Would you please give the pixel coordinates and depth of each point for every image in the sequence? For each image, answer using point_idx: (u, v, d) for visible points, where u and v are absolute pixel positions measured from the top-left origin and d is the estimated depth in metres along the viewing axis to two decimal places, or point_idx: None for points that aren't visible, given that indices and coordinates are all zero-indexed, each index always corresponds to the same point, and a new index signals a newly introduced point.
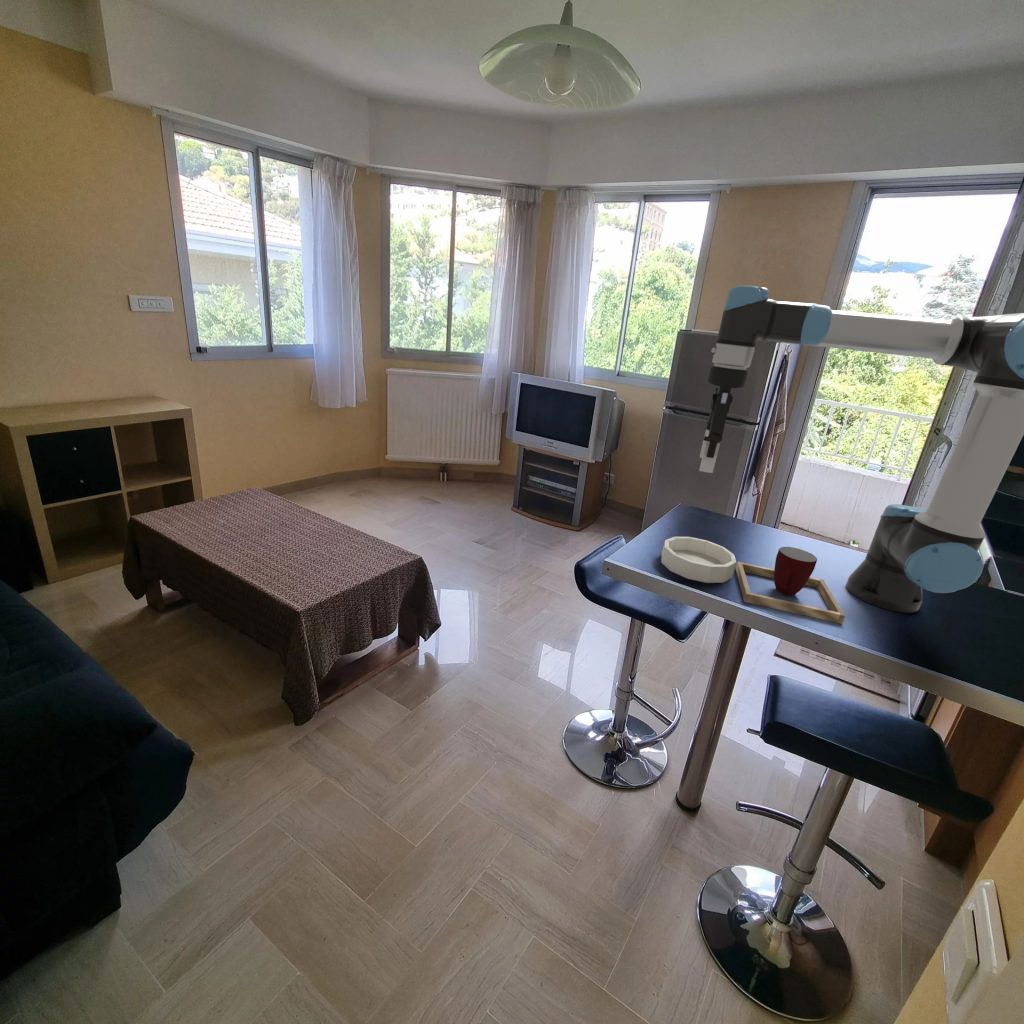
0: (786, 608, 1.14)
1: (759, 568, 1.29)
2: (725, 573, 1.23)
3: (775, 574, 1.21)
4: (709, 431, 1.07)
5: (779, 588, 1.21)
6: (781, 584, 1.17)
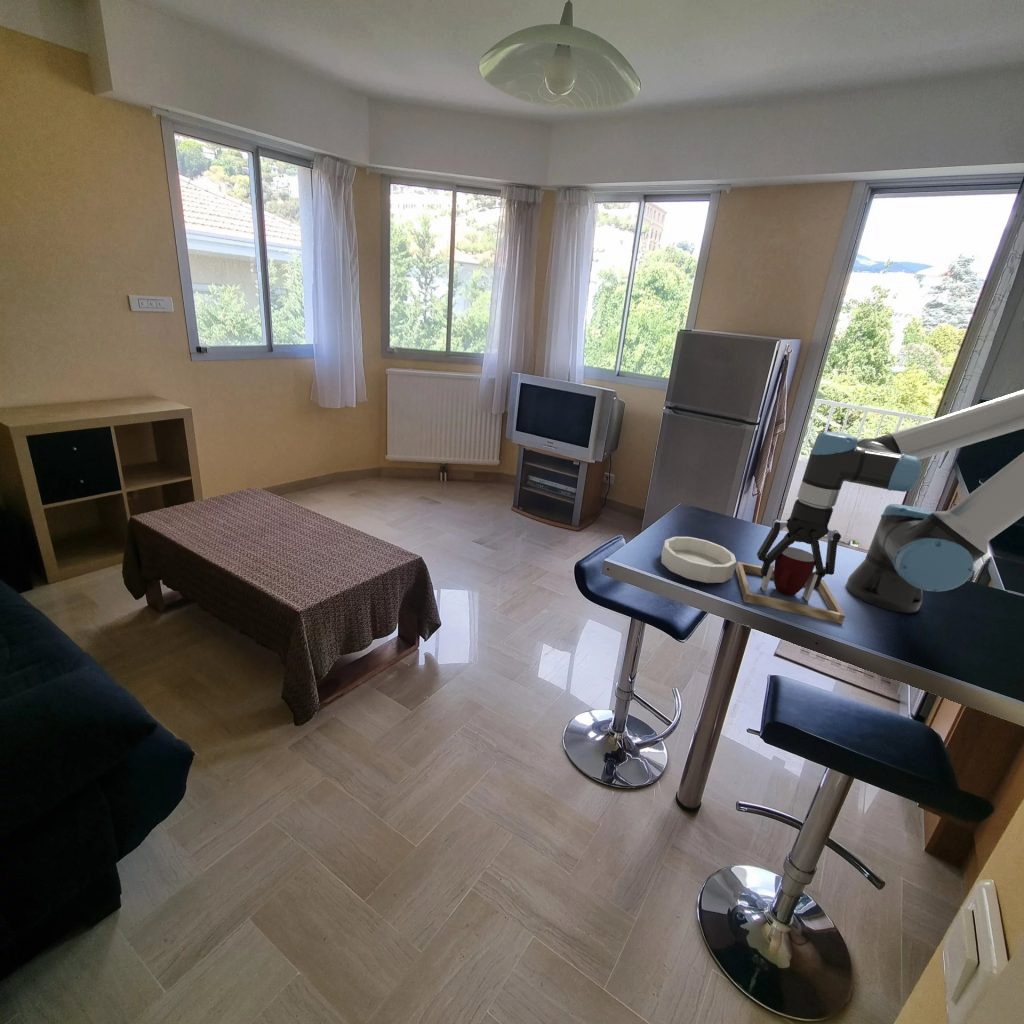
0: (786, 608, 1.14)
1: (759, 568, 1.29)
2: (725, 573, 1.23)
3: (775, 574, 1.21)
4: None
5: (779, 588, 1.21)
6: (781, 584, 1.17)
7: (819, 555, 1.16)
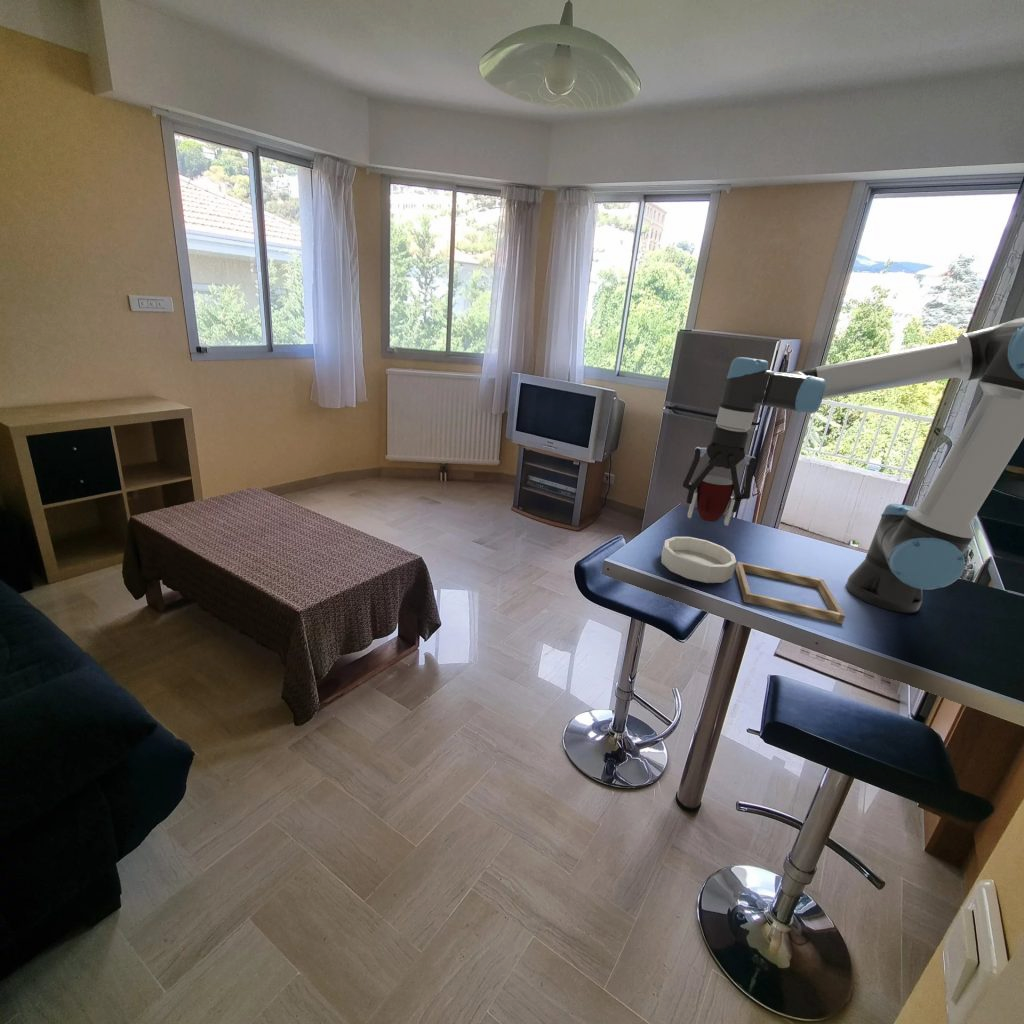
0: (786, 608, 1.14)
1: (759, 568, 1.29)
2: (725, 573, 1.23)
3: (697, 501, 1.26)
4: None
5: (702, 515, 1.26)
6: (700, 508, 1.22)
7: (736, 480, 1.20)
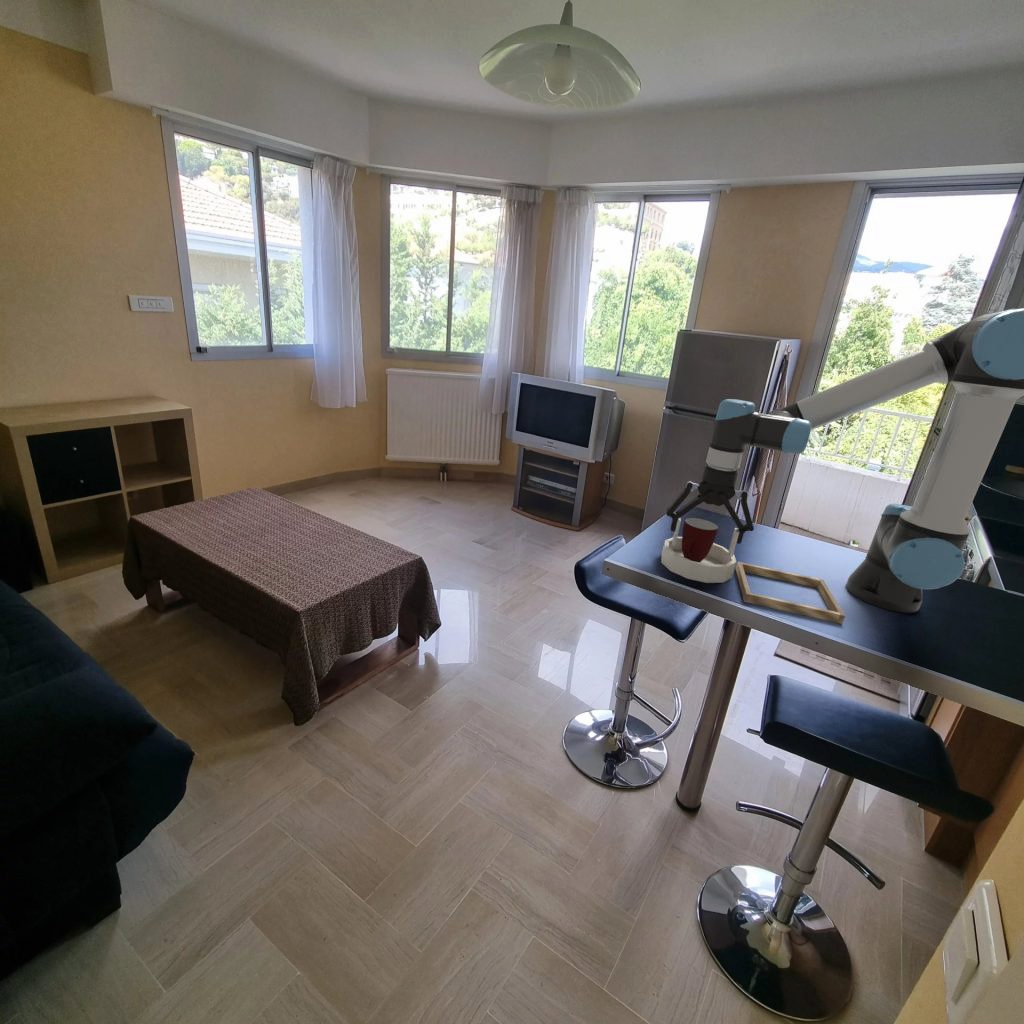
0: (786, 608, 1.14)
1: (759, 568, 1.29)
2: (725, 573, 1.23)
3: (682, 543, 1.31)
4: None
5: (685, 556, 1.30)
6: (684, 551, 1.26)
7: (734, 514, 1.23)
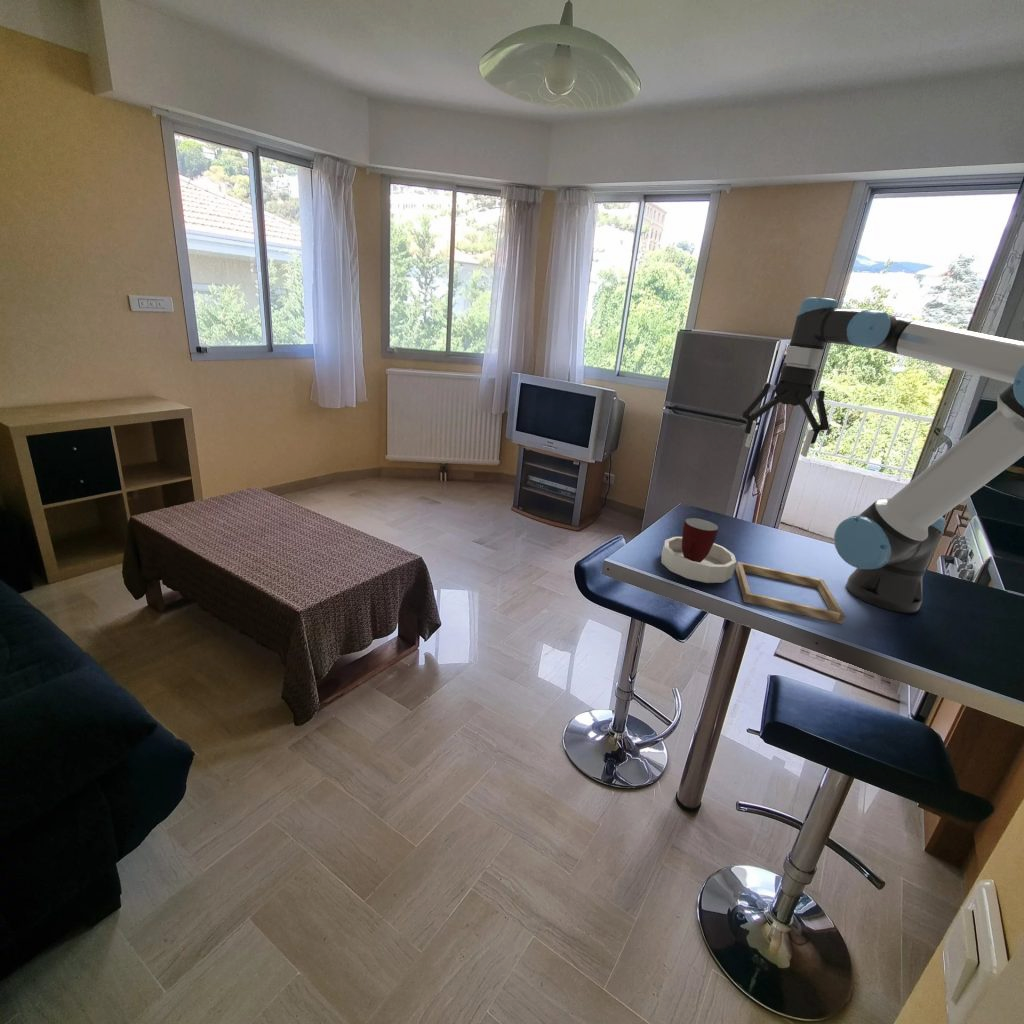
0: (786, 608, 1.14)
1: (759, 568, 1.29)
2: (725, 573, 1.23)
3: (682, 543, 1.31)
4: None
5: (685, 556, 1.30)
6: (684, 551, 1.26)
7: (810, 413, 1.28)
